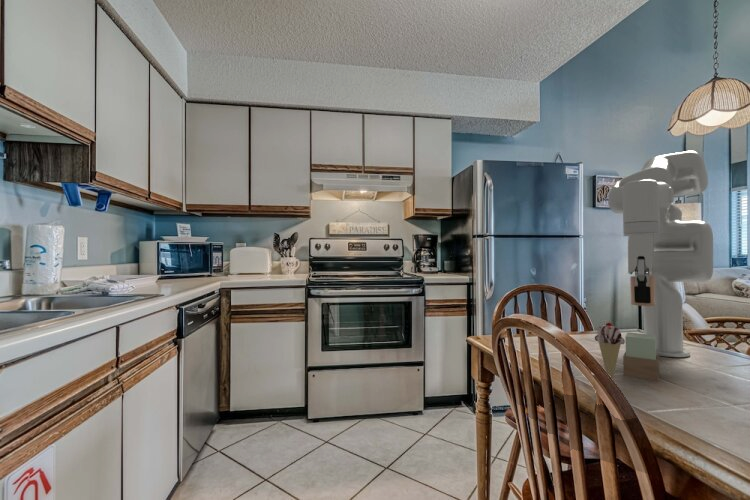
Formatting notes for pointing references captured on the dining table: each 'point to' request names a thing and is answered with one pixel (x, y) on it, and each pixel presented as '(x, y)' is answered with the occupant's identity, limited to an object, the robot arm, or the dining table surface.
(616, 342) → the ice cream cone
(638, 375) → the base block
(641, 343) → the pale green block
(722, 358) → the dining table surface
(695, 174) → the robot arm
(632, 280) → the tan rounded capsule
